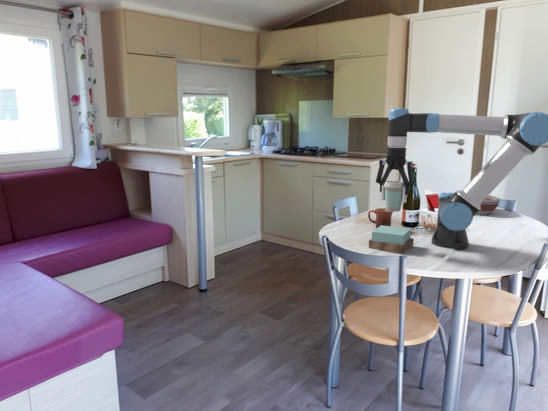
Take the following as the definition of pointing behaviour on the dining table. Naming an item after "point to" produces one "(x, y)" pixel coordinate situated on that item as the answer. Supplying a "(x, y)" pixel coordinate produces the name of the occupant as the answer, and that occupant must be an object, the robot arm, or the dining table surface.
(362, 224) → the dining table surface
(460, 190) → the robot arm
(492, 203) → the bowl
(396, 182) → the coffee cup
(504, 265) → the dining table surface
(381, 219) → the mug
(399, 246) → the tower base
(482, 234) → the dining table surface
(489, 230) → the dining table surface
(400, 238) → the tower top
